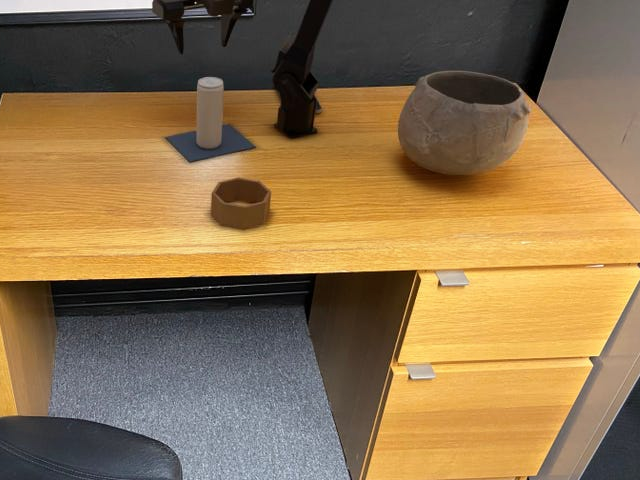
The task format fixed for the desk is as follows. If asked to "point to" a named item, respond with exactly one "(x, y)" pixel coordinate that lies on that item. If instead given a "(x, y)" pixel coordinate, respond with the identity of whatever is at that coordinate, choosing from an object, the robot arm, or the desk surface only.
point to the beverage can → (209, 112)
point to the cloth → (192, 151)
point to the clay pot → (463, 122)
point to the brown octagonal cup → (238, 213)
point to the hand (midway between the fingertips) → (202, 50)
